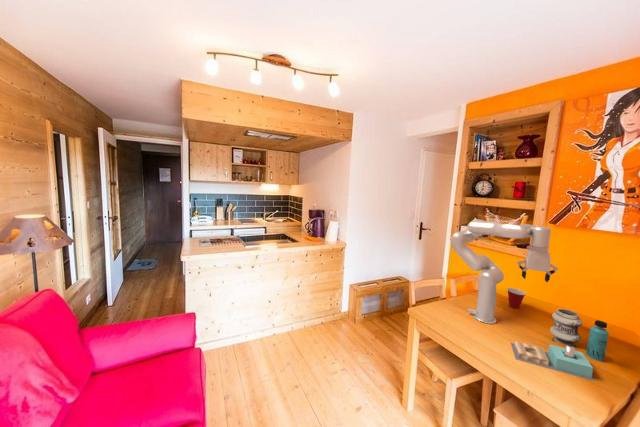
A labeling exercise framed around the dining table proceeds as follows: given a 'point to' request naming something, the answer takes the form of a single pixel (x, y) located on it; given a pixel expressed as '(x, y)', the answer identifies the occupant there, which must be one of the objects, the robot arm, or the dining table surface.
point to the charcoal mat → (550, 365)
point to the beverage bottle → (597, 341)
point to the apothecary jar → (566, 327)
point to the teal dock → (570, 362)
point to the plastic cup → (515, 297)
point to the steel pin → (569, 351)
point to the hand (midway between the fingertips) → (534, 279)
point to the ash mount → (531, 353)
